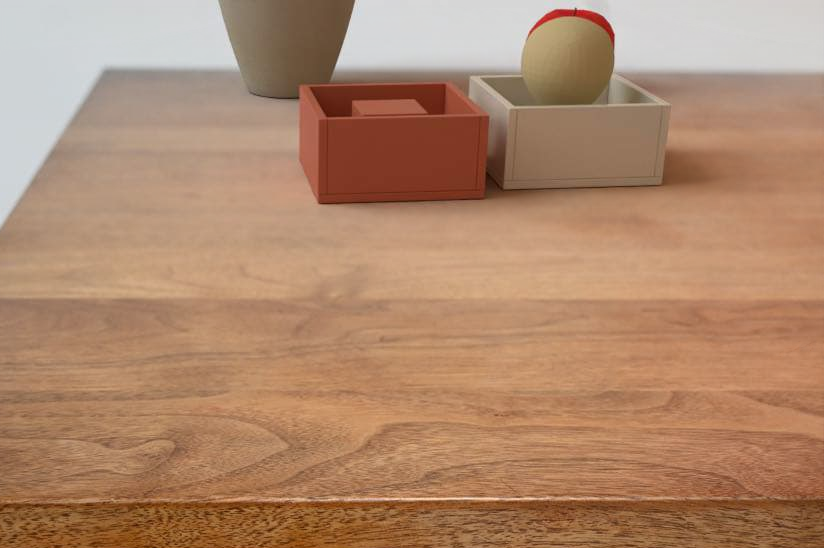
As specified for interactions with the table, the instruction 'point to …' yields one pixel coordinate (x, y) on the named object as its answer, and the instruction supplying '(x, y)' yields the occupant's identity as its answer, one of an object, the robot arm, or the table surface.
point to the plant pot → (286, 42)
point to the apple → (581, 14)
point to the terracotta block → (387, 108)
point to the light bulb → (567, 62)
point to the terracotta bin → (392, 144)
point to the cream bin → (572, 136)
